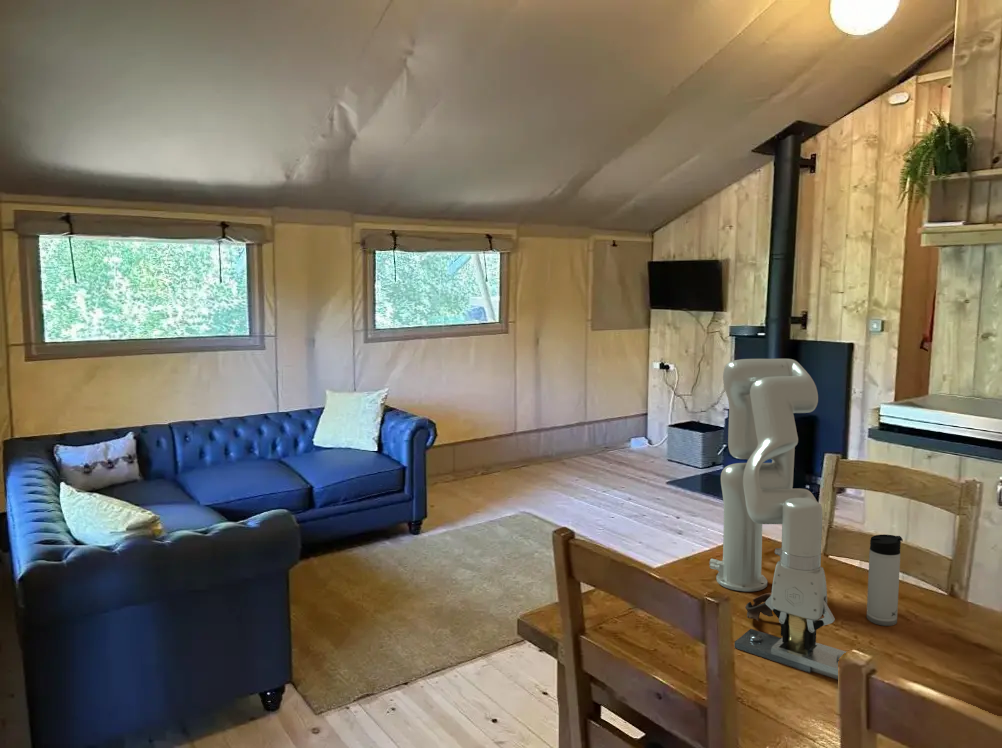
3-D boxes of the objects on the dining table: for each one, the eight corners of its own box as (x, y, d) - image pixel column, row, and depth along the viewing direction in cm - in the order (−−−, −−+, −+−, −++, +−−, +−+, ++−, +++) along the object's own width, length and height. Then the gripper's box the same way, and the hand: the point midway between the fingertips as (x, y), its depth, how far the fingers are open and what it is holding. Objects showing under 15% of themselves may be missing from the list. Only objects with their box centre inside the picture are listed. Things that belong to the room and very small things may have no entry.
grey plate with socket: (734, 648, 162) (734, 633, 162) (750, 634, 168) (750, 620, 168) (851, 686, 146) (852, 670, 146) (865, 670, 152) (865, 654, 152)
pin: (780, 654, 157) (782, 604, 155) (790, 645, 160) (791, 596, 159) (805, 662, 153) (807, 610, 152) (814, 652, 157) (816, 602, 156)
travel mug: (902, 627, 170) (906, 541, 167) (870, 625, 171) (874, 540, 169) (893, 615, 176) (897, 532, 174) (863, 613, 177) (866, 531, 175)
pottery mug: (782, 642, 165) (763, 608, 166) (751, 644, 173) (733, 611, 174) (811, 614, 172) (793, 581, 173) (781, 617, 180) (763, 586, 181)
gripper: (753, 554, 157) (751, 638, 160) (836, 575, 146) (833, 664, 148) (768, 545, 163) (766, 625, 165) (849, 563, 152) (846, 649, 154)
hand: (798, 643), depth 157 cm, fingers closed on pin, 4 cm apart
